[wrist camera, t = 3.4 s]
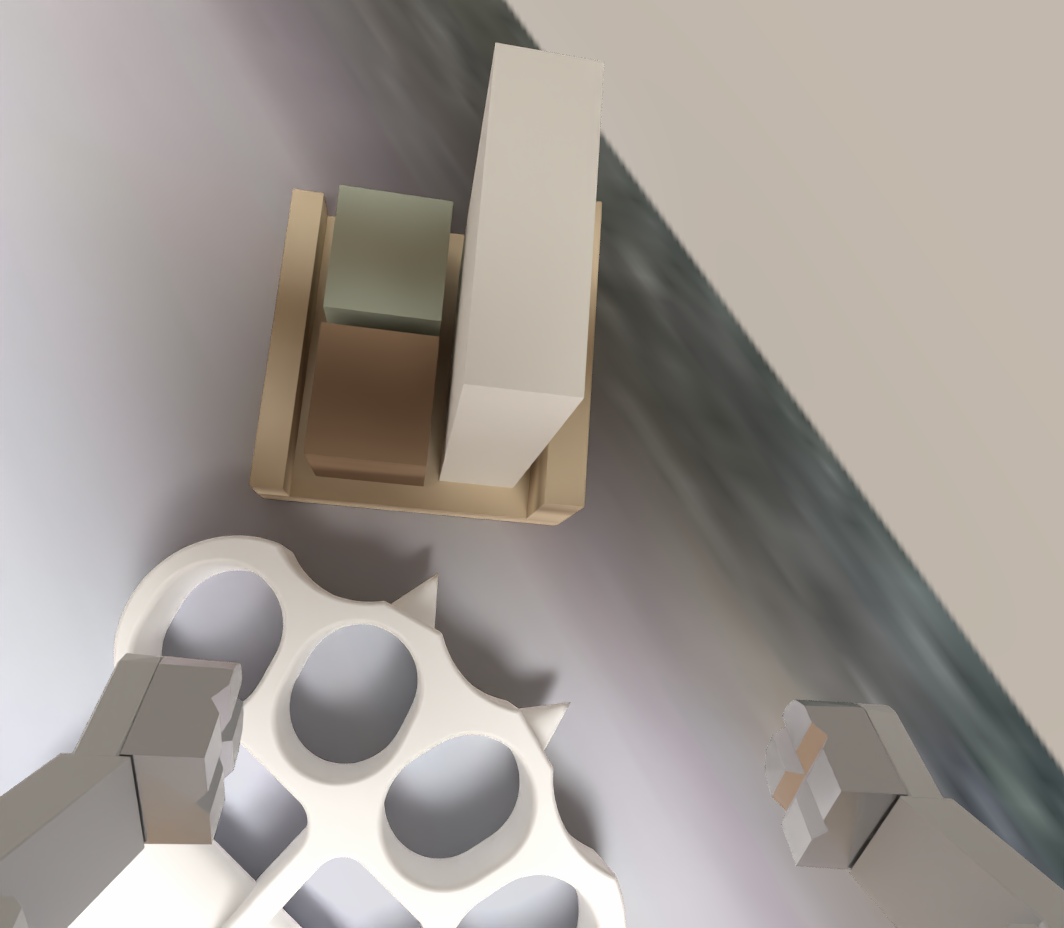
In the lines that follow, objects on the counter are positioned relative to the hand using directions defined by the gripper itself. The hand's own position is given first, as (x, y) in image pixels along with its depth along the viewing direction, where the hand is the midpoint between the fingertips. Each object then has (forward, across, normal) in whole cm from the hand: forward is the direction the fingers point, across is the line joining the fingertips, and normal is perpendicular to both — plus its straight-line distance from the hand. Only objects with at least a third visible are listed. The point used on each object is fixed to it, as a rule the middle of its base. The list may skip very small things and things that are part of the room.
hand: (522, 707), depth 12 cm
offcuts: (+17, +3, +3) cm, 18 cm away
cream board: (+17, 0, +3) cm, 17 cm away
